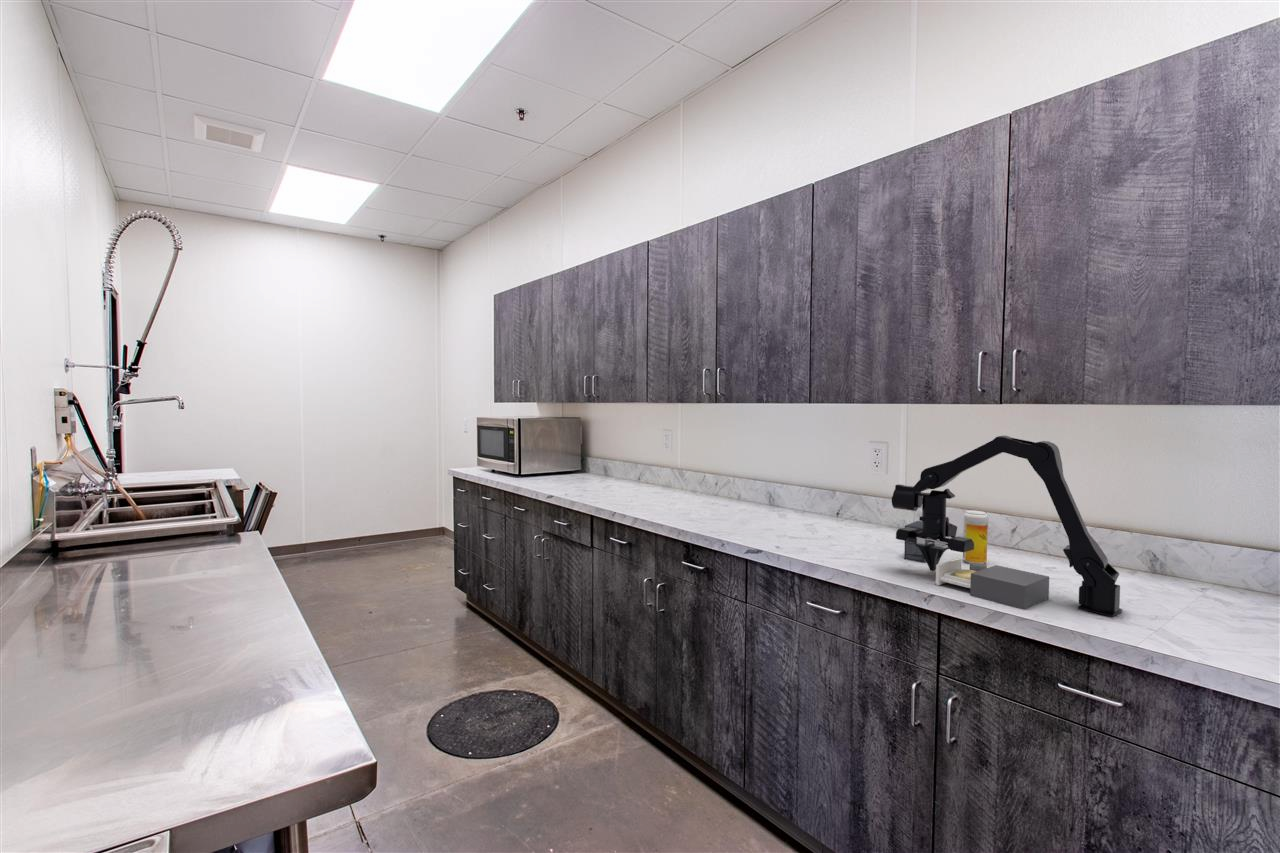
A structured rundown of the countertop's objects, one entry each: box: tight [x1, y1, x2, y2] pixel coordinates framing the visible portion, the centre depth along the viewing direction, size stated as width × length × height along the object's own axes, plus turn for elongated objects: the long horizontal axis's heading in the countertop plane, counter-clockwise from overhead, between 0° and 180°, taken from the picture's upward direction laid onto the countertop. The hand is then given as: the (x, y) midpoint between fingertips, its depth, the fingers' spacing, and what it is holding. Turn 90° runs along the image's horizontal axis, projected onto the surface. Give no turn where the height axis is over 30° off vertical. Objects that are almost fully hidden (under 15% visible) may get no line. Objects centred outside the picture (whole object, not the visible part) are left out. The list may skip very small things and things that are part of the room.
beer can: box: [962, 510, 989, 565], centre depth 172 cm, size 6×6×15 cm
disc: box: [955, 568, 977, 580], centre depth 150 cm, size 6×6×2 cm
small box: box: [903, 520, 937, 564], centre depth 178 cm, size 11×6×10 cm, turn 134°
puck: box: [969, 563, 988, 571], centre depth 157 cm, size 4×4×4 cm
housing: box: [969, 564, 1050, 610], centre depth 142 cm, size 12×13×5 cm
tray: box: [935, 558, 971, 589], centre depth 150 cm, size 12×11×5 cm
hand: (932, 570), depth 157 cm, fingers closed
